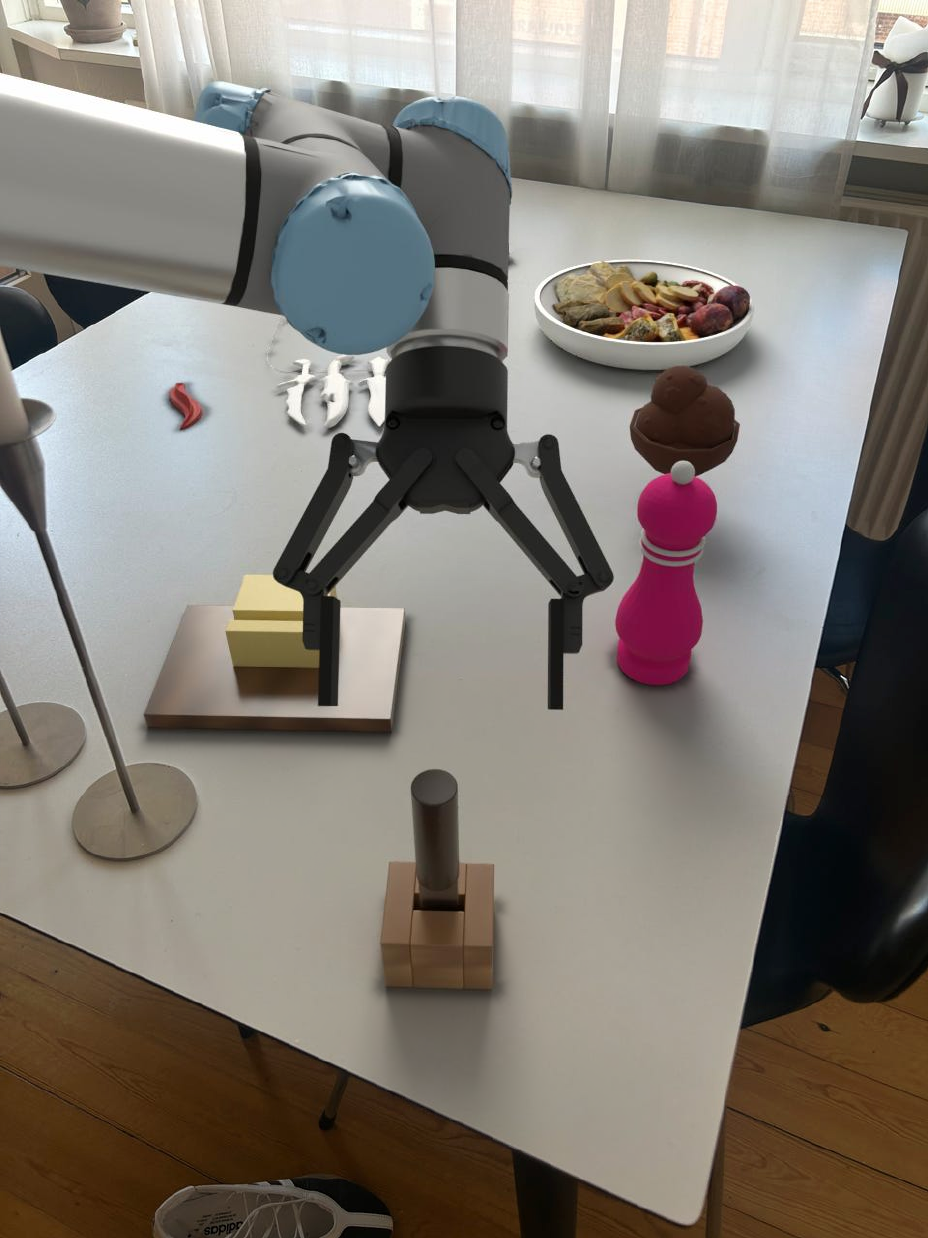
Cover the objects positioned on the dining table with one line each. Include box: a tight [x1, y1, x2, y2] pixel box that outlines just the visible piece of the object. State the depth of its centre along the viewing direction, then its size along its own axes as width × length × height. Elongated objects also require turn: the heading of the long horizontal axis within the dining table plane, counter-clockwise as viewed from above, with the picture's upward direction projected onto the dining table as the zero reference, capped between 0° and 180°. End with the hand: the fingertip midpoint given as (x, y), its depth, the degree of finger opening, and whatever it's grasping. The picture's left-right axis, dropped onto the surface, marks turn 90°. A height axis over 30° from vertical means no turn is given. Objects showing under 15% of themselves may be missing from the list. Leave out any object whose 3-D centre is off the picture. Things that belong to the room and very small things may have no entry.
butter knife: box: [410, 768, 460, 912], centre depth 58 cm, size 3×3×16 cm
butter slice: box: [225, 620, 319, 668], centre depth 81 cm, size 8×2×4 cm, turn 88°
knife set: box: [266, 315, 391, 428], centre depth 128 cm, size 26×35×1 cm
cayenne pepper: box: [168, 382, 204, 430], centre depth 120 cm, size 12×5×2 cm, turn 6°
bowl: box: [533, 259, 755, 371], centre depth 134 cm, size 30×30×8 cm
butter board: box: [143, 604, 407, 733], centre depth 83 cm, size 20×14×2 cm
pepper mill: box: [614, 461, 718, 686], centre depth 78 cm, size 7×7×20 cm
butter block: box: [232, 574, 338, 621], centre depth 84 cm, size 8×5×4 cm, turn 88°
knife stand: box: [379, 860, 495, 991], centre depth 62 cm, size 7×6×5 cm
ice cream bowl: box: [629, 366, 741, 477], centre depth 98 cm, size 11×11×15 cm
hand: (441, 708), depth 58 cm, fingers open, 13 cm apart
